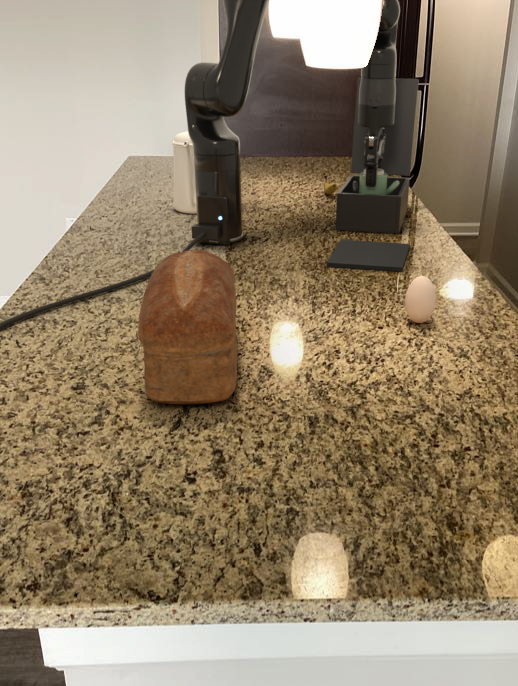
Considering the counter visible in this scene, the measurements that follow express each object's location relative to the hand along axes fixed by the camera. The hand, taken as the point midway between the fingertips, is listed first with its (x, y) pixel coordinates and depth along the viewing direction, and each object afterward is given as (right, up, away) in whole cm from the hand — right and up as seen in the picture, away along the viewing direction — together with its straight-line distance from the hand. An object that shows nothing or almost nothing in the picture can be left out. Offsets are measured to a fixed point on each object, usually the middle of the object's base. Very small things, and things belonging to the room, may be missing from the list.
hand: (373, 182), depth 170 cm
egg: (+2, -37, -48) cm, 61 cm away
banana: (-8, +6, +29) cm, 31 cm away
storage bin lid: (+3, +15, +8) cm, 18 cm away
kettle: (0, -7, +4) cm, 8 cm away
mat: (-3, -20, -18) cm, 27 cm away
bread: (-31, -44, -62) cm, 82 cm away
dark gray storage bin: (+1, -7, +7) cm, 9 cm away
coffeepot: (-40, -2, +16) cm, 43 cm away
